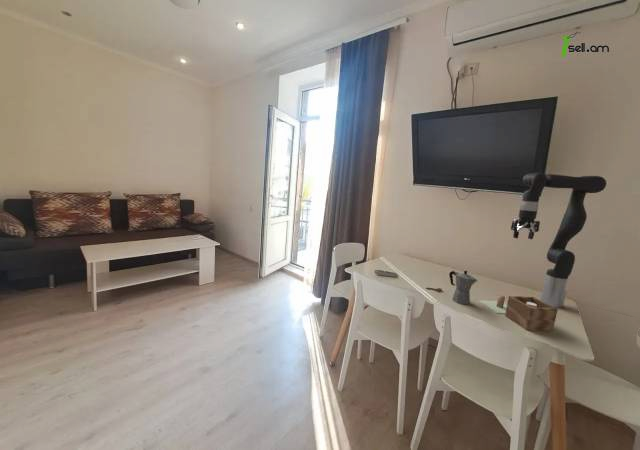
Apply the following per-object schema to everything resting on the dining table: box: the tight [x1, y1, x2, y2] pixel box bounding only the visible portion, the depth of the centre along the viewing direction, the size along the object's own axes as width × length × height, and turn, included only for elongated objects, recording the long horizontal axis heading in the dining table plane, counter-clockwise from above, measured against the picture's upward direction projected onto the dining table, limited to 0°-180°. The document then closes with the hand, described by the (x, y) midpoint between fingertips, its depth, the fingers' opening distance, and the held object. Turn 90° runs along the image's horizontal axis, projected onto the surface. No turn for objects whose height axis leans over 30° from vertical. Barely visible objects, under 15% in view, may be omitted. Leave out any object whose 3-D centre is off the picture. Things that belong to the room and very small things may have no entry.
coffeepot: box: [448, 270, 478, 306], centre depth 145 cm, size 15×9×18 cm, turn 33°
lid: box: [479, 295, 507, 315], centre depth 140 cm, size 14×14×7 cm
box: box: [504, 295, 559, 332], centre depth 124 cm, size 13×13×11 cm
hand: (522, 238), depth 142 cm, fingers open, 8 cm apart
